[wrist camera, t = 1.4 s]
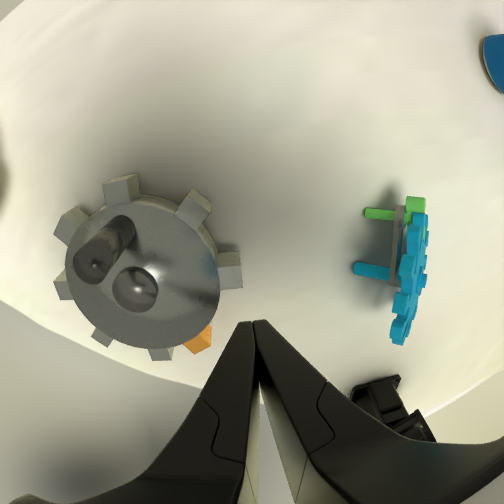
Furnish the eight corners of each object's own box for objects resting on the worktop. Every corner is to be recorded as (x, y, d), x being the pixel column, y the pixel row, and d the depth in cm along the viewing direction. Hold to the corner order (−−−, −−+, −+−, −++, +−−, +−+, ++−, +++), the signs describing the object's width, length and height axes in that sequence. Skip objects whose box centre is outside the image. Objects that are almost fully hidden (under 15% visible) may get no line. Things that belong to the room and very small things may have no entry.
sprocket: (247, 335, 23) (256, 408, 16) (96, 342, 22) (69, 404, 16) (231, 161, 17) (234, 181, 11) (46, 192, 17) (-18, 227, 10)
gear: (424, 311, 23) (399, 374, 16) (369, 300, 27) (324, 352, 20) (437, 193, 20) (427, 205, 13) (375, 187, 24) (329, 197, 17)
